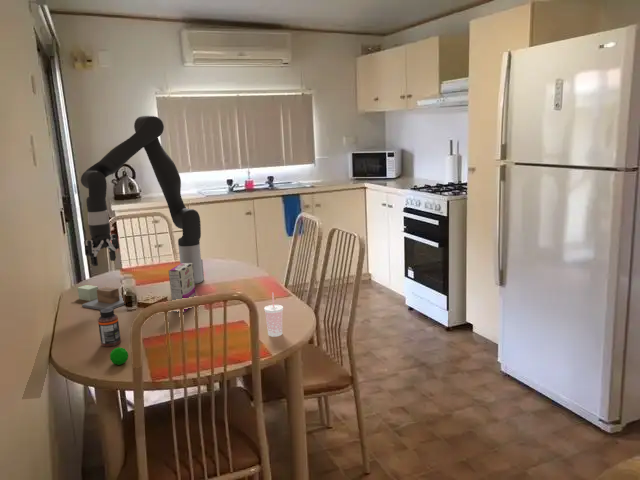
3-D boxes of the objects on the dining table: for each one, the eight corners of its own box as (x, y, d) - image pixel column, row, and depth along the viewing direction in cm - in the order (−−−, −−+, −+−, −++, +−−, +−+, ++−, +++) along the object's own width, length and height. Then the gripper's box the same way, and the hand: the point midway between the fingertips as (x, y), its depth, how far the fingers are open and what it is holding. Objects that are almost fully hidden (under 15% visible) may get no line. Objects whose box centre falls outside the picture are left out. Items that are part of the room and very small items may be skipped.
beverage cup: (282, 337, 170) (279, 295, 167) (263, 337, 171) (260, 295, 168) (286, 330, 176) (284, 290, 173) (268, 330, 177) (266, 289, 174)
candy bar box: (185, 303, 209) (181, 262, 206) (197, 303, 208) (193, 262, 205) (171, 312, 199) (167, 270, 195) (184, 313, 198) (180, 270, 194)
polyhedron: (116, 360, 158) (114, 345, 157) (131, 360, 157) (130, 344, 156) (107, 367, 153) (105, 351, 152) (124, 367, 152) (122, 351, 151)
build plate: (110, 296, 222) (110, 294, 222) (135, 300, 215) (135, 298, 215) (82, 306, 210) (82, 304, 210) (107, 311, 203) (107, 308, 203)
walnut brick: (107, 298, 216) (105, 286, 215) (119, 300, 213) (118, 288, 212) (98, 301, 212) (96, 289, 211) (110, 303, 209) (109, 291, 208)
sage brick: (88, 296, 224) (86, 284, 223) (99, 298, 221) (98, 286, 220) (79, 299, 221) (77, 287, 220) (90, 301, 217) (88, 289, 216)
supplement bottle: (104, 340, 173) (100, 307, 171) (123, 339, 174) (119, 306, 171) (98, 348, 167) (94, 313, 165) (117, 346, 168) (113, 312, 166)
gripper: (90, 226, 198) (96, 268, 202) (120, 219, 210) (125, 259, 214) (76, 225, 202) (82, 266, 205) (106, 219, 214) (112, 258, 217)
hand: (104, 263), depth 209 cm, fingers open, 8 cm apart
